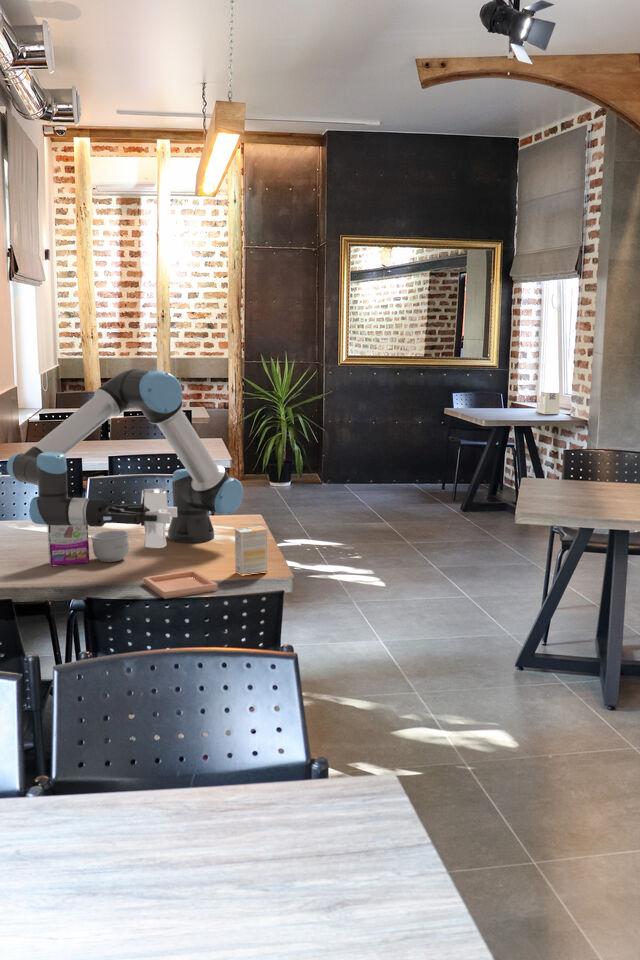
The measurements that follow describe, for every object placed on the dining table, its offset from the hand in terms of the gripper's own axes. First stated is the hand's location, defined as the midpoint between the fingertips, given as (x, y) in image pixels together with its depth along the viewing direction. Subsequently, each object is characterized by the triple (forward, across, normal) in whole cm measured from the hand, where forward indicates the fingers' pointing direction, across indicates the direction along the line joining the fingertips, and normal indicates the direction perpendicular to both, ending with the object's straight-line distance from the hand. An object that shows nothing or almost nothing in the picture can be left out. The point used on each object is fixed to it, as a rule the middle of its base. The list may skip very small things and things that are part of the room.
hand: (173, 515), depth 240 cm
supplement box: (+18, -16, -20) cm, 31 cm away
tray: (+2, 0, -20) cm, 20 cm away
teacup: (-25, -26, -20) cm, 41 cm away
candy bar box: (-36, -19, -20) cm, 45 cm away
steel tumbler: (-5, 0, -9) cm, 10 cm away
